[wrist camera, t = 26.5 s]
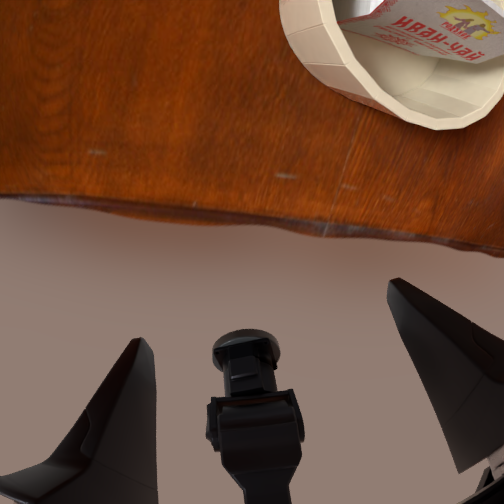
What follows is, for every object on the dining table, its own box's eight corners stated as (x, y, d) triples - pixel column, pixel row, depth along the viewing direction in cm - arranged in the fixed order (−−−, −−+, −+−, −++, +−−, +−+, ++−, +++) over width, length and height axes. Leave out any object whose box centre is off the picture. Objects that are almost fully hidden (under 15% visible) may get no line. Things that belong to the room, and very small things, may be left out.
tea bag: (329, -25, 12) (428, -74, 4) (421, 9, 13) (538, 12, 5) (323, 25, 14) (426, 5, 6) (416, 54, 15) (535, 79, 7)
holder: (449, 100, 17) (516, 126, 12) (299, 114, 18) (341, 142, 12) (426, -46, 10) (491, -59, 4) (259, -59, 11) (282, -109, 5)
